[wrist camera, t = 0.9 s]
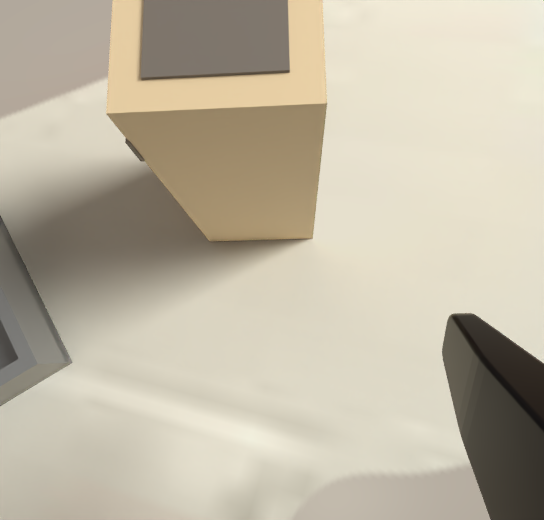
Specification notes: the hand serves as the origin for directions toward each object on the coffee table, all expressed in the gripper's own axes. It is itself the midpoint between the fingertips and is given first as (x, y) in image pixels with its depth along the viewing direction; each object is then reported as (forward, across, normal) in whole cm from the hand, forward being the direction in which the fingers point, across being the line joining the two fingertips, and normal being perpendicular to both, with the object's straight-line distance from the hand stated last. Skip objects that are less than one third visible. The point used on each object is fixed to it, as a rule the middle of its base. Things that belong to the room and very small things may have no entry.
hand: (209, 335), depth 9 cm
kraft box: (+15, 0, +4) cm, 15 cm away
